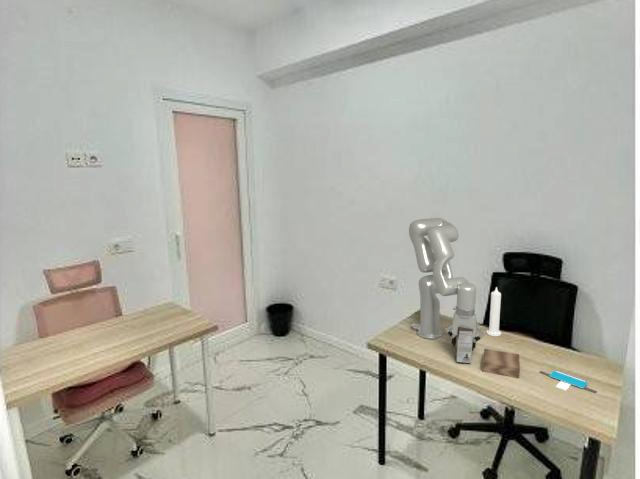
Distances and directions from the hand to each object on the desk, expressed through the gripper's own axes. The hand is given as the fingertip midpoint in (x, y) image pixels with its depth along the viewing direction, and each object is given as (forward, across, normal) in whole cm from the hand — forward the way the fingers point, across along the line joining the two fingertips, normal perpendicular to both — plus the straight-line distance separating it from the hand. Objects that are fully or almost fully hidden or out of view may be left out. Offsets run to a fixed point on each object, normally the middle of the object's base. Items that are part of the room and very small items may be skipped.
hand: (463, 347), depth 172 cm
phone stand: (+6, +40, -3) cm, 40 cm away
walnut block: (+6, +16, -1) cm, 17 cm away
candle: (+7, +12, +32) cm, 35 cm away
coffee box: (+5, 0, 0) cm, 5 cm away
